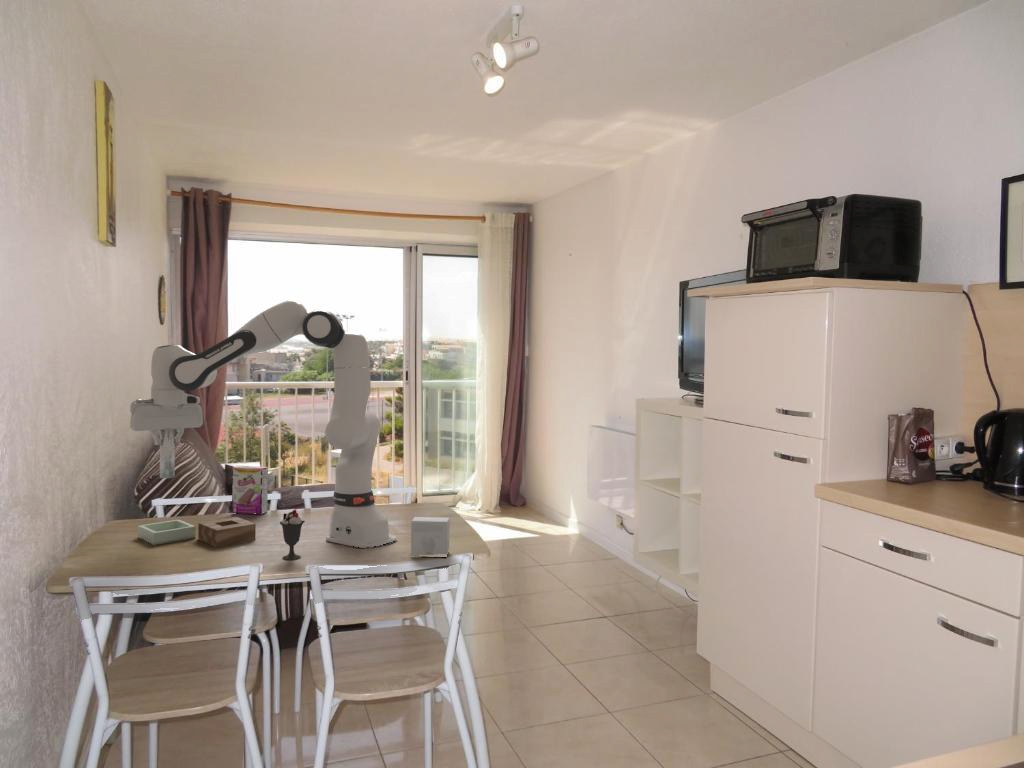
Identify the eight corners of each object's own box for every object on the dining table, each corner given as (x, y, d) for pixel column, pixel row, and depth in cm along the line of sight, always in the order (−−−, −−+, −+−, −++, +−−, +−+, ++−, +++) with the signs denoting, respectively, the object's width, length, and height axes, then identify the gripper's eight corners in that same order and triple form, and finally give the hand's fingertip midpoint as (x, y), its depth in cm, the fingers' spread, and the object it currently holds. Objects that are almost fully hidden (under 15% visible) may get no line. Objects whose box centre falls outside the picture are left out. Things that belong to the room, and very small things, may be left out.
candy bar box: (231, 513, 247) (231, 467, 246) (238, 510, 252) (238, 465, 251) (261, 515, 246) (262, 468, 245) (268, 512, 251) (268, 466, 250)
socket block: (255, 539, 214) (255, 523, 214) (216, 547, 205) (216, 530, 205) (236, 532, 222) (236, 516, 222) (198, 539, 213) (198, 522, 213)
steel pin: (176, 477, 213) (176, 428, 213) (163, 478, 210) (163, 428, 210) (171, 475, 216) (171, 426, 215) (157, 477, 213) (157, 427, 212)
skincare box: (449, 552, 206) (450, 516, 206) (446, 558, 200) (447, 522, 199) (413, 551, 206) (414, 515, 206) (410, 557, 200) (410, 520, 199)
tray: (195, 538, 214) (195, 526, 214) (154, 545, 206) (154, 533, 205) (178, 530, 222) (178, 519, 222) (138, 537, 214) (138, 525, 213)
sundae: (304, 560, 194) (305, 506, 194) (278, 561, 192) (279, 507, 192) (304, 553, 201) (304, 501, 200) (279, 555, 199) (280, 502, 198)
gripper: (134, 400, 202) (134, 448, 203) (205, 398, 218) (205, 442, 218) (126, 398, 207) (126, 445, 207) (196, 396, 222) (196, 440, 222)
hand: (167, 444), depth 213 cm, fingers closed on steel pin, 4 cm apart
